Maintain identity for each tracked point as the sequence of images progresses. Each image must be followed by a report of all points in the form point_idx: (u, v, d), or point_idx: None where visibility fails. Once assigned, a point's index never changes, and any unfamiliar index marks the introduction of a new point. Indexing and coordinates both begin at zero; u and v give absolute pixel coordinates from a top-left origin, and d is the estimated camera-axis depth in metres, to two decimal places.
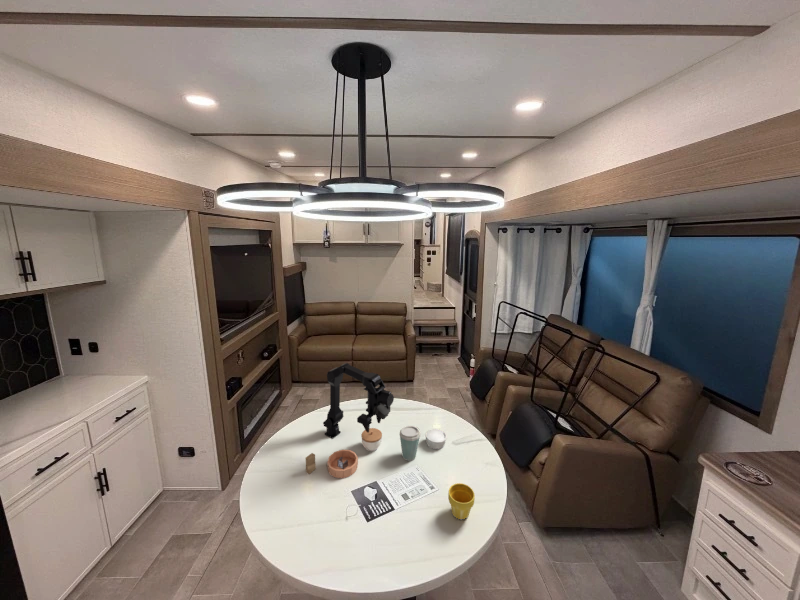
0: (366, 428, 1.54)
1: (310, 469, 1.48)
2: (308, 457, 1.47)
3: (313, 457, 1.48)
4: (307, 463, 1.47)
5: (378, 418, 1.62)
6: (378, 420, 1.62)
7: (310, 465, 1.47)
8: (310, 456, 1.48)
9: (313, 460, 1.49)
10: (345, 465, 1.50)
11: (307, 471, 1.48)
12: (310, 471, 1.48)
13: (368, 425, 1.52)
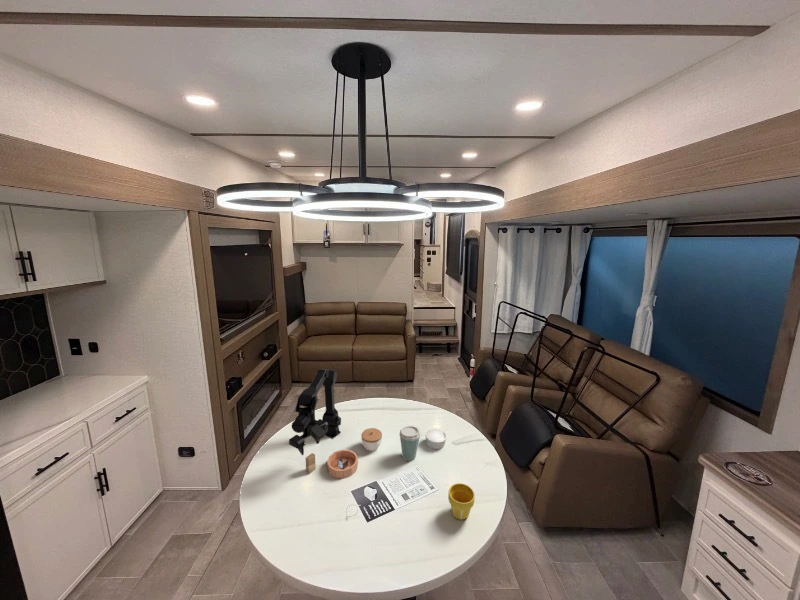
0: (300, 450, 1.42)
1: (310, 469, 1.48)
2: (308, 457, 1.47)
3: (313, 457, 1.48)
4: (307, 463, 1.47)
5: None
6: (317, 440, 1.50)
7: (310, 465, 1.47)
8: (310, 456, 1.48)
9: (313, 460, 1.49)
10: (345, 465, 1.50)
11: (307, 471, 1.48)
12: (310, 471, 1.48)
13: (301, 447, 1.40)
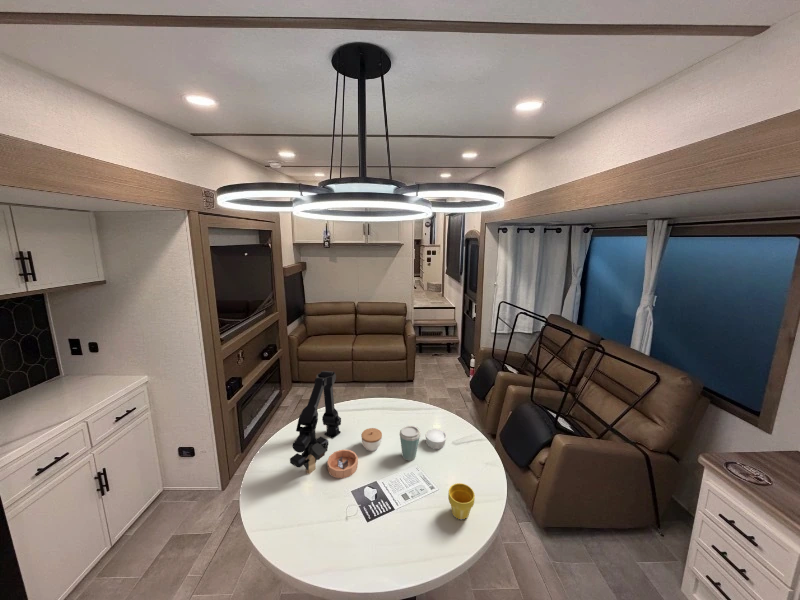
0: (305, 465, 1.46)
1: (310, 469, 1.48)
2: (308, 457, 1.47)
3: (313, 457, 1.48)
4: None
5: None
6: None
7: (310, 465, 1.47)
8: (310, 456, 1.48)
9: (313, 460, 1.49)
10: (345, 465, 1.50)
11: (307, 471, 1.48)
12: (310, 471, 1.48)
13: (306, 463, 1.44)
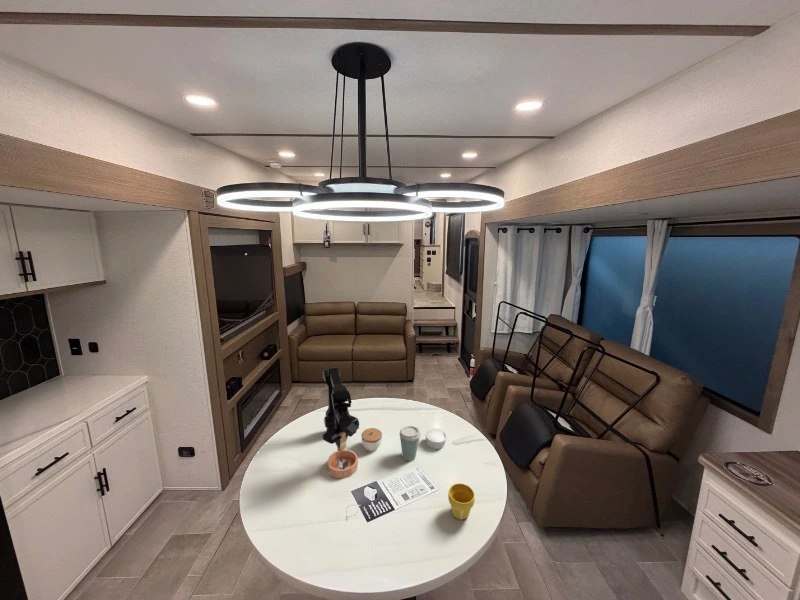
0: (336, 443, 1.46)
1: (341, 447, 1.48)
2: None
3: (344, 435, 1.49)
4: None
5: None
6: None
7: (341, 443, 1.48)
8: (341, 434, 1.48)
9: (344, 438, 1.49)
10: (345, 465, 1.50)
11: (338, 449, 1.48)
12: (341, 449, 1.48)
13: (338, 440, 1.45)
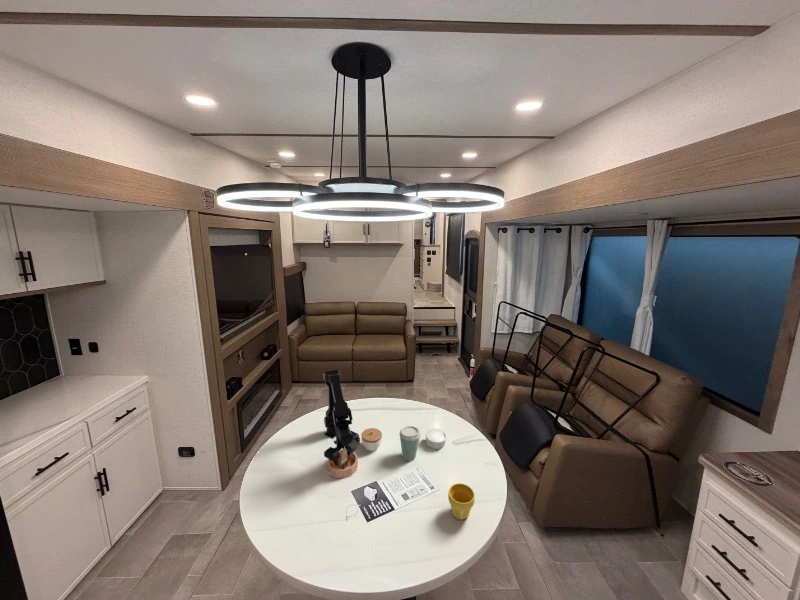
0: (334, 461, 1.46)
1: (342, 464, 1.50)
2: (340, 452, 1.49)
3: (345, 452, 1.51)
4: (340, 458, 1.49)
5: (348, 450, 1.54)
6: (348, 452, 1.54)
7: (342, 460, 1.50)
8: (342, 451, 1.50)
9: (345, 455, 1.51)
10: (345, 465, 1.50)
11: (339, 466, 1.50)
12: (342, 466, 1.50)
13: (336, 459, 1.45)
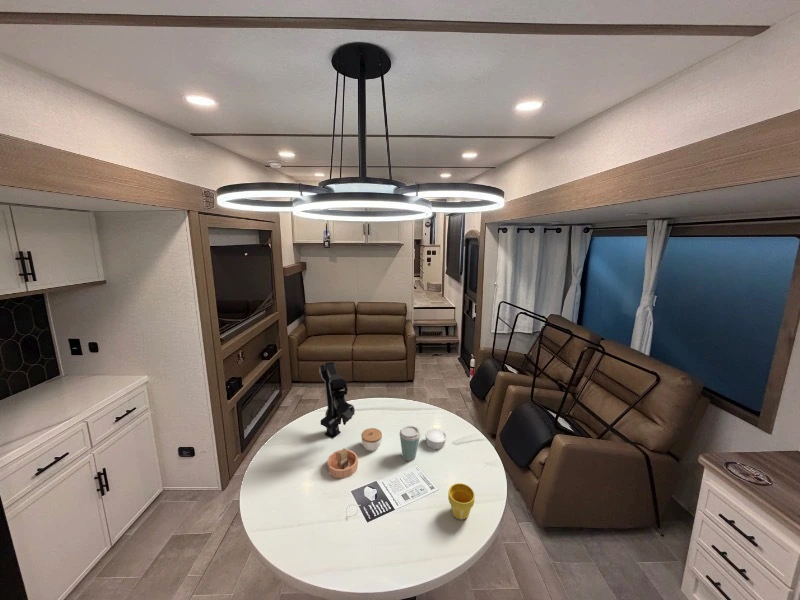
0: (330, 430, 1.56)
1: (342, 464, 1.50)
2: (340, 452, 1.49)
3: (345, 452, 1.51)
4: (340, 458, 1.49)
5: (344, 420, 1.64)
6: (344, 422, 1.64)
7: (342, 460, 1.50)
8: (342, 451, 1.50)
9: (345, 455, 1.51)
10: (345, 465, 1.50)
11: (339, 466, 1.50)
12: (342, 466, 1.50)
13: (331, 427, 1.54)
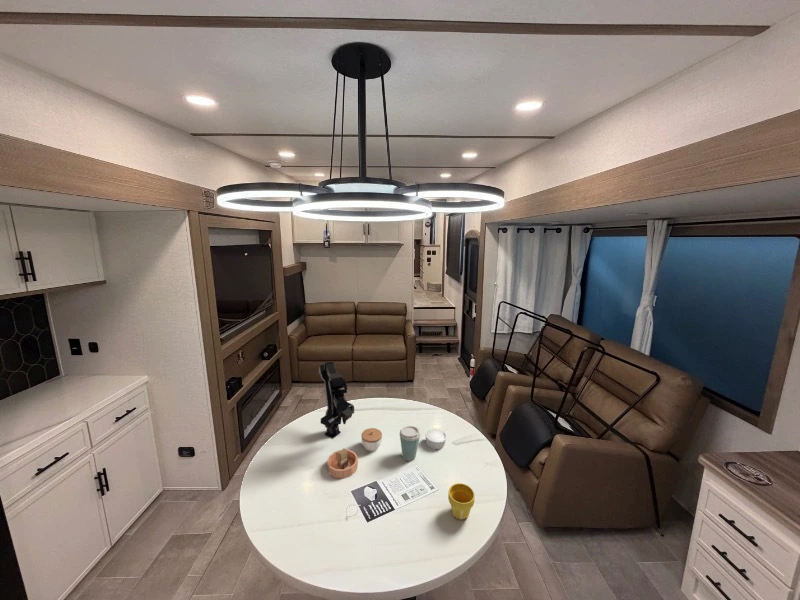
0: (330, 429, 1.56)
1: (342, 464, 1.50)
2: (340, 452, 1.49)
3: (345, 452, 1.51)
4: (340, 458, 1.49)
5: (343, 419, 1.64)
6: (343, 421, 1.65)
7: (342, 460, 1.50)
8: (342, 451, 1.50)
9: (345, 455, 1.51)
10: (345, 465, 1.50)
11: (339, 466, 1.50)
12: (342, 466, 1.50)
13: (331, 426, 1.54)
